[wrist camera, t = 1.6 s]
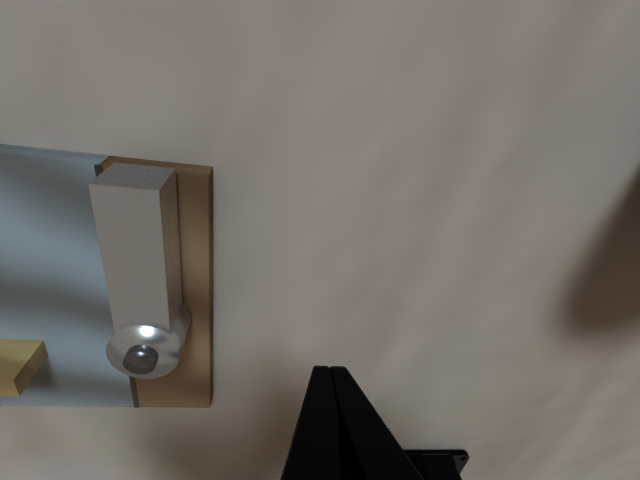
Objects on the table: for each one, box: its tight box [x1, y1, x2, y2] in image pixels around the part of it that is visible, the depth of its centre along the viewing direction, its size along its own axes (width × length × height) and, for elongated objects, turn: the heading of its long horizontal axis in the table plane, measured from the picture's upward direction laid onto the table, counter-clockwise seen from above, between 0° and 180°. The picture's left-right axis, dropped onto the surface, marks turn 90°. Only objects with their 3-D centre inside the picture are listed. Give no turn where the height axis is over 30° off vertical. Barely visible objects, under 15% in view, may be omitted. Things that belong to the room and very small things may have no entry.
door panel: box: [0, 144, 213, 408], centre depth 18 cm, size 16×14×4 cm
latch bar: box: [88, 162, 191, 379], centre depth 16 cm, size 10×3×3 cm, turn 172°
